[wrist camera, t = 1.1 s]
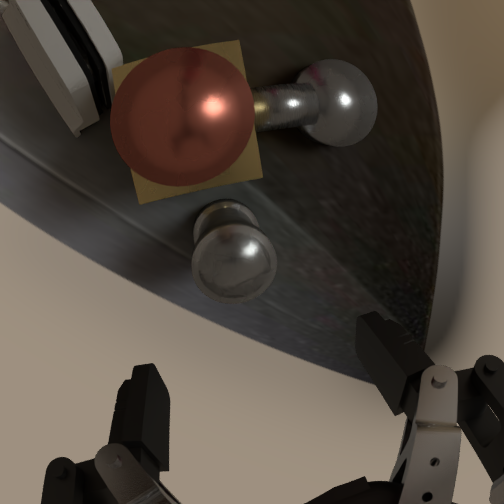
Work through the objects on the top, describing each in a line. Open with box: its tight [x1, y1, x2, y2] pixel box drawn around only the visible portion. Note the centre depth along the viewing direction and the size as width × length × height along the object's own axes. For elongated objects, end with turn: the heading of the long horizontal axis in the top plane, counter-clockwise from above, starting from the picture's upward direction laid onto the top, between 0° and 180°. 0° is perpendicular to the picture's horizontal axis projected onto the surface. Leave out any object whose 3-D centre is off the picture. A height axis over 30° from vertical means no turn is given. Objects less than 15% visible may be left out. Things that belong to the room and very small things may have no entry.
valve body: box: [110, 40, 377, 205], centre depth 16 cm, size 8×18×11 cm, turn 100°
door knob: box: [191, 199, 277, 304], centre depth 21 cm, size 5×5×7 cm
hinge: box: [2, 0, 123, 138], centre depth 12 cm, size 17×5×10 cm, turn 34°
